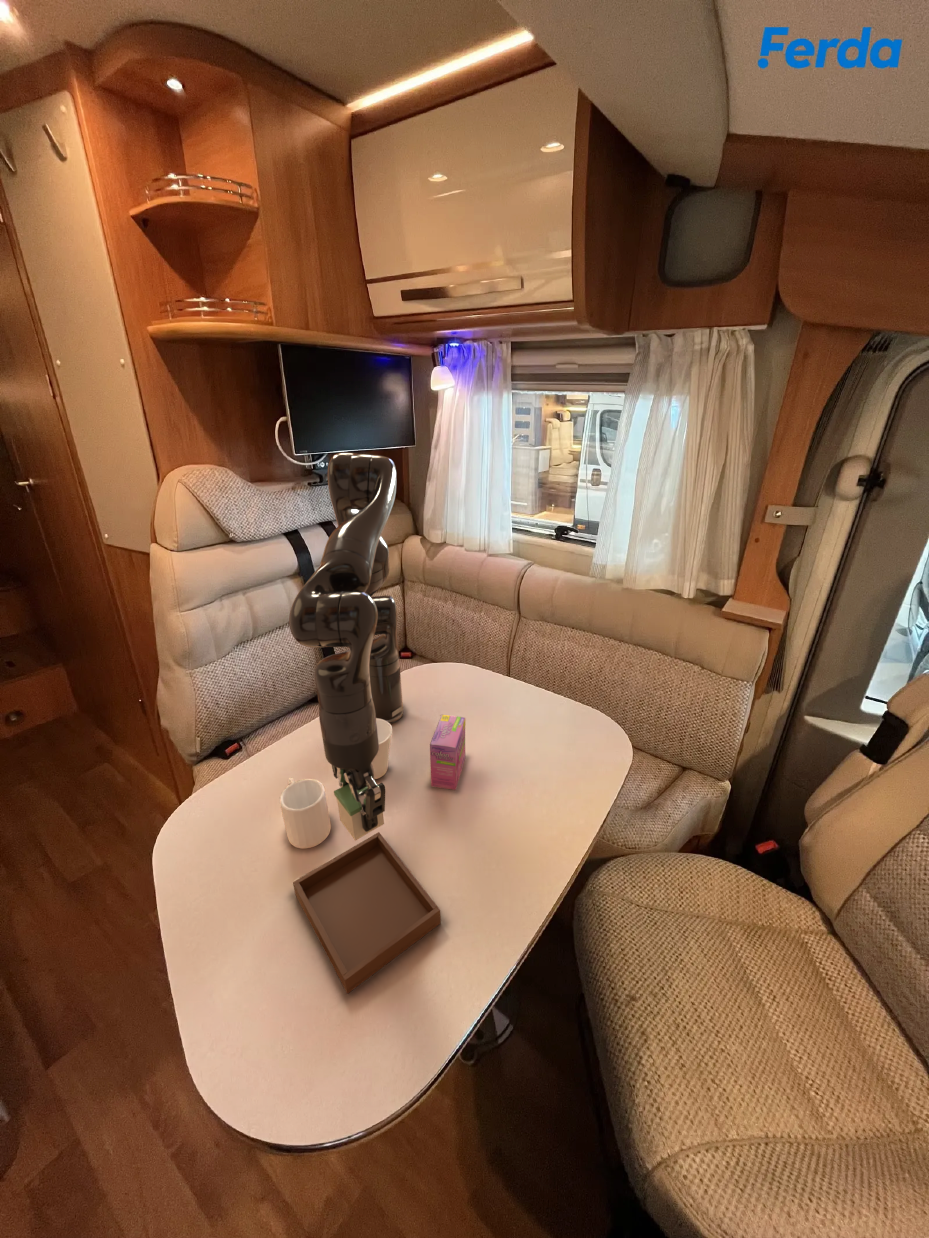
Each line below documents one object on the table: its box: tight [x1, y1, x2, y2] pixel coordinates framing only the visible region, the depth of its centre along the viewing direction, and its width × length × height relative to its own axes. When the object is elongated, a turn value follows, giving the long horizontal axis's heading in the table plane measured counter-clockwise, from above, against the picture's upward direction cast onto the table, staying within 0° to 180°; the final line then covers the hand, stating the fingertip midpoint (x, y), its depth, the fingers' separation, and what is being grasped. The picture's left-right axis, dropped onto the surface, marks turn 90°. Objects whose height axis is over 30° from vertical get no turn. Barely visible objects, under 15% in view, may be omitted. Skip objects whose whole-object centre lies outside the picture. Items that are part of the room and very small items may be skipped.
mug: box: [279, 777, 332, 849], centre depth 97 cm, size 8×12×10 cm
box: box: [429, 714, 466, 791], centre depth 109 cm, size 10×6×12 cm, turn 168°
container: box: [333, 784, 385, 841], centre depth 76 cm, size 5×5×6 cm
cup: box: [371, 718, 393, 780], centre depth 110 cm, size 10×10×11 cm
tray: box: [292, 831, 442, 995], centre depth 82 cm, size 20×17×3 cm
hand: (361, 815), depth 76 cm, fingers closed on container, 5 cm apart
